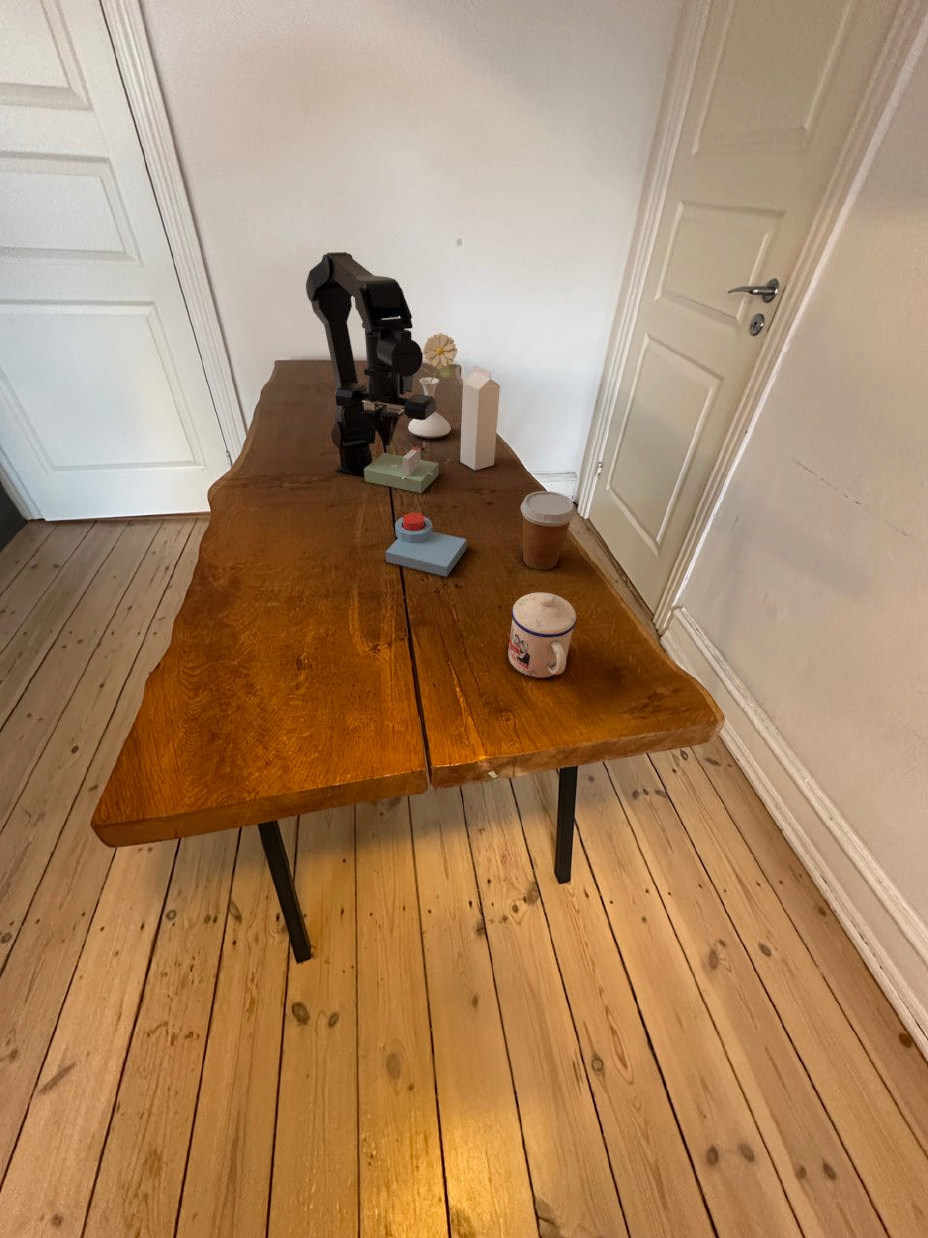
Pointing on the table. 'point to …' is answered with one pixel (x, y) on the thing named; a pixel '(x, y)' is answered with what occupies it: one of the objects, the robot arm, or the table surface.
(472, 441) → the milk
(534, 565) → the disposable coffee cup
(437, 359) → the flower in vase
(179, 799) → the table surface
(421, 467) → the panel
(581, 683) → the table surface
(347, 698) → the table surface
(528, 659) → the teacup with lid
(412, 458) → the tap handle
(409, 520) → the button
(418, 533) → the button block
